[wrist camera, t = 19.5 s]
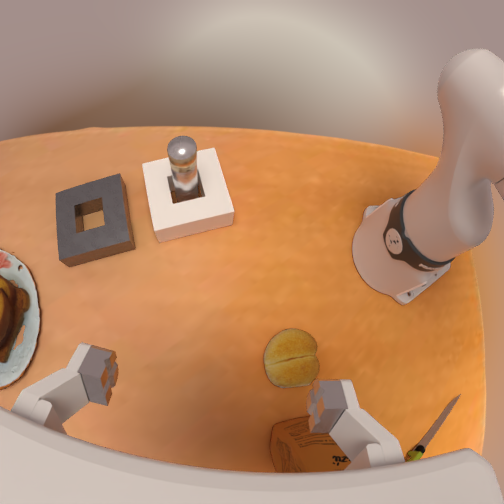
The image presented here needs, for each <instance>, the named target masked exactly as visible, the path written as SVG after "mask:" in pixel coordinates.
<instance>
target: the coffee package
mask: <svg viewBox="0 0 504 504" xmlns="http://www.w3.org/2000/svg"><path fill="white" fill-rule="evenodd" d="M309 418H310V416H307V417H302V418H297V419H293V420H289V421H284V422H281V423H277V424H275V425H274V427H273V429H272V437H271V444H270V452H271V455H272V460H273V464H274V467H275V469H276V471H277V472H278V473H309V472H330V471H344V470H345V469H346V468H347V467H348V466H349V464H350V463H351V460H350V459H349V458H348V457H347V456H346V454H345V453H344V452H343V451H342V450H341V448H340V447H339V446H338V445H337V443H336V442H335V441H334V440H333V438H332V437H331V436H330V435H329V433H310V428H309V422H308V420H309Z"/></svg>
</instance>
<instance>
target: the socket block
mask: <svg viewBox="0 0 504 504" xmlns="http://www.w3.org/2000/svg"><path fill="white" fill-rule="evenodd" d="M100 210H103V212H104V221H105V225H104V226H100V227H97V228H93V229H90V230H86V231H84V227H83V215H86V214H90V213H93V212H97V211H100ZM56 222H57V239H58V252H59V260H60V261H61V262H63V263H64V264H65V265H67V266H68V267H72V266H75V265H79V264H82V263H86V262H90V261H93V260H97V259H101V258H104V257H108V256H112V255H115V254H119V253H123V252H126V251H130V250H134V249H135V244H134V238H133V232H132V226H131V220H130V214H129V208H128V201H127V194H126V187H125V184H124V181H123V179H122V177H121V174H116V175H113V176H109V177H106V178H102V179H99V180H96V181H92V182H89V183H86V184H83V185H79V186H76V187H73V188H70V189H67V190H64V191H61V192H58V193H56Z"/></svg>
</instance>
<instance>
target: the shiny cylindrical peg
mask: <svg viewBox="0 0 504 504" xmlns="http://www.w3.org/2000/svg"><path fill="white" fill-rule="evenodd" d="M167 151H168V157H169V163H170V166H171V172H172V178H173V183H174V188H175V194H176V199H177V203H179V202H183V201H188V200H192V199H196V198H199V197H198V178H197V146H196V143H195V141H194V140H193V139H192V138H190V137H188V136H178V137H176V138H174V139H172V140H171V141H170V142H169V144H168V148H167Z"/></svg>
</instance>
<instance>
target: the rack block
mask: <svg viewBox="0 0 504 504" xmlns="http://www.w3.org/2000/svg"><path fill="white" fill-rule="evenodd" d="M142 166H143V172H144V178H145V184H146V190H147V195H148V201H149V206H150V212H151V217H152V222H153V227H154V231H155V234H156V236H157V239H158V241H159V243H161V242H165V241H169V240H173V239H177V238H180V237H184V236H188V235H192V234H196V233H201V232H205V231H209V230H213V229H217V228H221V227H225V226H229V225H232V223H233V217H234V208H233V205H232V202H231V199H230V196H229V192H228V189H227V186H226V183H225V180H224V176H223V173H222V170H221V167H220V164H219V160H218V157H217V154H216V151H215V148H210V149H205V150H200V151H197V178H198V185H199V188H200V191H201V195H202V197H200V198H196V199H192V200H188V201H183V202H179V203H175V204H173V202H172V198H171V193H170V192H171V191H175V188H174V183H173V178H172V172H171V166H170V163H169V157H168V158H164V159H160V160H156V161H152V162H148V163H144V164H142Z"/></svg>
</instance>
